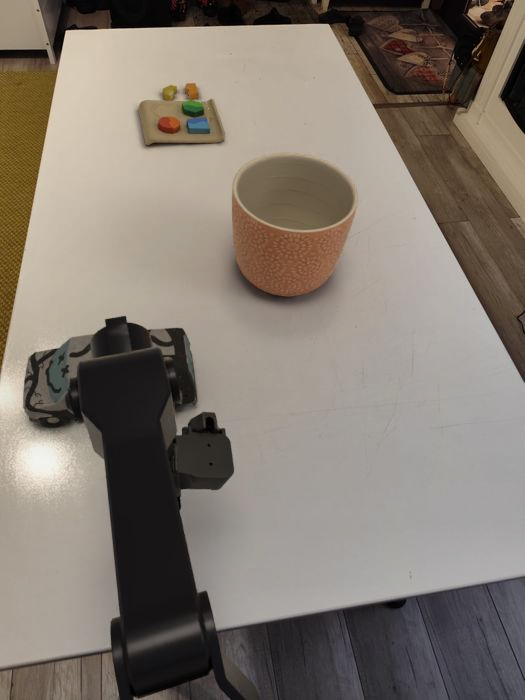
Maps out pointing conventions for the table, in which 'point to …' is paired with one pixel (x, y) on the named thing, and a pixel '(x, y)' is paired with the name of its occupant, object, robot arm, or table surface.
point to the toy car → (61, 363)
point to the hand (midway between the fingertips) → (155, 505)
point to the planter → (290, 221)
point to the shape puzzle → (180, 119)
